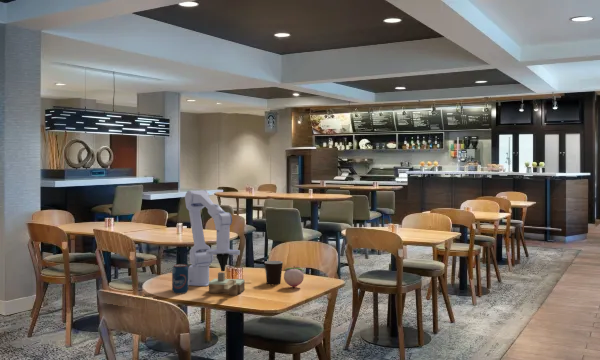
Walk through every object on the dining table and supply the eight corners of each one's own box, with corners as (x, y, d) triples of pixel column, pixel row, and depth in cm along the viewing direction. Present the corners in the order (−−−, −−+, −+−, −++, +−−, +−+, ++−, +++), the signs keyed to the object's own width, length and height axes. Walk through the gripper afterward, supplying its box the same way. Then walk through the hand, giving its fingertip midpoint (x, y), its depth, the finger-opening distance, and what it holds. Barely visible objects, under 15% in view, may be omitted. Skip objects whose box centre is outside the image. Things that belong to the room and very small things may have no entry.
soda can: (172, 294, 249) (171, 266, 249) (172, 290, 256) (172, 263, 256) (188, 293, 251) (188, 266, 250) (188, 290, 258) (188, 263, 257)
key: (222, 289, 237) (222, 284, 237) (229, 283, 247) (229, 279, 247) (229, 289, 237) (229, 284, 237) (235, 284, 247) (235, 279, 247)
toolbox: (207, 294, 249) (207, 283, 249) (215, 288, 262) (215, 277, 262) (238, 295, 247) (238, 285, 247) (245, 289, 260) (245, 278, 260)
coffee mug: (280, 285, 267) (280, 264, 267) (262, 284, 269) (262, 263, 268) (286, 280, 278) (286, 259, 278) (268, 279, 280) (268, 259, 280)
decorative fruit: (285, 289, 258) (285, 267, 258) (282, 286, 266) (282, 264, 266) (305, 289, 260) (305, 267, 259) (302, 285, 268) (302, 263, 267)
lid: (208, 285, 251) (208, 274, 251) (214, 281, 259) (214, 270, 259) (239, 286, 249) (239, 275, 249) (244, 282, 257) (244, 271, 257)
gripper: (204, 241, 250) (205, 272, 250) (238, 241, 249) (238, 272, 250) (207, 239, 257) (207, 269, 257) (240, 239, 256) (240, 269, 257)
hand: (223, 270), depth 254 cm, fingers closed
